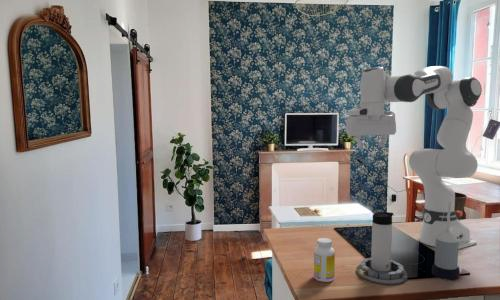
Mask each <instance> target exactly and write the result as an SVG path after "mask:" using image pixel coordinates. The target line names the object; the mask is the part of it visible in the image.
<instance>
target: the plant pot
mask: <svg viewBox="0 0 500 300" xmlns="http://www.w3.org/2000/svg"><path fill="white" fill-rule="evenodd" d="M454 193H455V206H454V210H455V211H461V212H462V213H464V210H465V205H466V201H467V197H468V196H467V195H466V194H464V193H461V192H456V191H454ZM457 218H458V220H459V221H460V222H461V218H462V216H458V215H457Z"/></svg>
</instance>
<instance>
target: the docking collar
mask: <svg viewBox="0 0 500 300" xmlns="http://www.w3.org/2000/svg"><path fill="white" fill-rule="evenodd" d="M359 263H360V264H358V265H357V266H356V274H357V275H358V276H359V277H360V278H361V279H364V280H365V281H368V282H369V283H374V284H376V285H377V284H379V285H385V286H393V285H394V286H395V285H400V284H404V283H405V282H407V280H408V273H407V271H406V270H405V268H404V265H402V263H399V262H398V261H395V260H393V259H391V271H390V272H379V271H376V270H372V269H371V257H368V258H367V257H366V258H364V259H362V260H361V261H360V262H359Z"/></svg>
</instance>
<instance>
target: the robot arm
mask: <svg viewBox="0 0 500 300" xmlns="http://www.w3.org/2000/svg"><path fill="white" fill-rule="evenodd" d="M360 77H361V78H360V86H359V87H360V89H359V92H360V97H361V98H360V100H359V106H356V107H353V108H351V109H348V111H347V115H348V117H347V119H346V124H345V133H346V135H347V136H349V137H351V136H352V137H354V140H355V142H356V143H357V144H356V146H357V148H358V149H361V148H362V149H363V148H364V142H362V141H361V139H362V136H380V138H381V139H380V141H379V142H378V148H385V143H386V142H387V140H388V136H394V135H396V133H397V121H396V113H394V112H393V110H385V103H402V102H403V103H413V102H416V101H417V100H418V99H419V98H420V97H421V96H422V95H426V102H427V104H428V106H429V107H430V108H431V109H432V110H437V111H440V110H444V109H447V113H446V114H445V116H444V118H443V120H442V122H441V125H440V128H439V130H438V131H437V132H438V133H437V134H436V141H437V143H438V144H439V145H440V146H441V147H442V148H444V149H436V148H420V149H414V151H412V152H411V154H410V155H409V157H408V165H409V168H410V169H411V170H412V171H413V172H414V174H416V175H417V177H418V178H419V179H420V181H421V183H422V186H423V191H424V207H423V209H422V216H423V218H422V219H423V220H422V224H421V230H420V233H419V237H418V240H419V241H420V243H422V244H424V245H427V246H431V247H435V244H436V237H437V235H438V234H440V233H442V232H445V231H446V228H447V214H448V205H449V201H450V202H451V213H450V229H449V230H450V232H451V233H452V234H454V235H455V236H456V237H457V239H458V242H459V246H458V250H461V249H464V248H467V247H470V246H474V245H477V241H476V240H475V239H473V238H471V233H470V229H469V227H468V226H467V225H465V224H464V223H463V222H462V221H461V220H460V221H459V220H458V218H457V215H458V216H461V217H462V216H463V213H464V212H463V213H462V212H461V211H455V210H454V206H455V193H454V192H455V191H454V189H453V188H452V187H450V186H449V185H447V184H446V183H445V182H444V181H443V178H442V177H444V178H445V177H446V178H453V179H465V178H466V179H467V178H471V177H472V176H474V175H475V173H476V172H477V170H478V164H479V163H478V160H477V158H476V156H475V155H474V154H473V153H472V152H470V151H469V150H468V148H467V141H468V137H469V133H470V131H471V128H472V124H473V120H474V113H473V110H472V107H474V106H475V105H477V103H478V100H479V99H480V97H481V95H482V91H483V89H482V85H481V82H480V81H479V80H478V78H476V77H474V76H473V77H472V76H468V77H463V78H459V79H455V80H453V78H454V75H453V72H452V70H451V69H450V68H449V67H447V66H443V65H434V66H433V65H432V66H427V67H423V68H420V69H418V70H417V71H415V72H414V73H411V74H409V73H408V74H404V75H398V76H397V75H396V76H390V75H389V74H387V73H386V72H385V68H384V67H383V66H377V67H370V68H366V69H364V70H362V73H361V76H360ZM443 208H444V213H443ZM443 214H444V216H443ZM442 217H443V218H442ZM442 219H443V221H442ZM442 225H443V231H442Z"/></svg>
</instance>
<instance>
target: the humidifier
mask: <svg viewBox="0 0 500 300" xmlns="http://www.w3.org/2000/svg"><path fill="white" fill-rule="evenodd" d="M443 213H444V208H443ZM450 213H451V202H450V201H449V205H448V214H447V228H446V231H445V232H442V233H440V234H438V235H437V237H436V244H435V248H434V249H435V251H434V262H433V263H432V266H431V274H432V275H433V277H436V278H438V279H442V280H445V279H446V280H445V281H456V280H455V279H457V280H459V279H460V278H461V276H462V275H461V273H460V268H459V266H458V264H459V263H458V260H459V249H458V246H459V242H458V239H457V237H456V236H455V235H454V234H452V233H451V232H450V230H449V229H450ZM443 216H444V214H443ZM442 218H443V217H442ZM442 221H443V219H442ZM442 231H443V225H442ZM458 278H459V279H458Z"/></svg>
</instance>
